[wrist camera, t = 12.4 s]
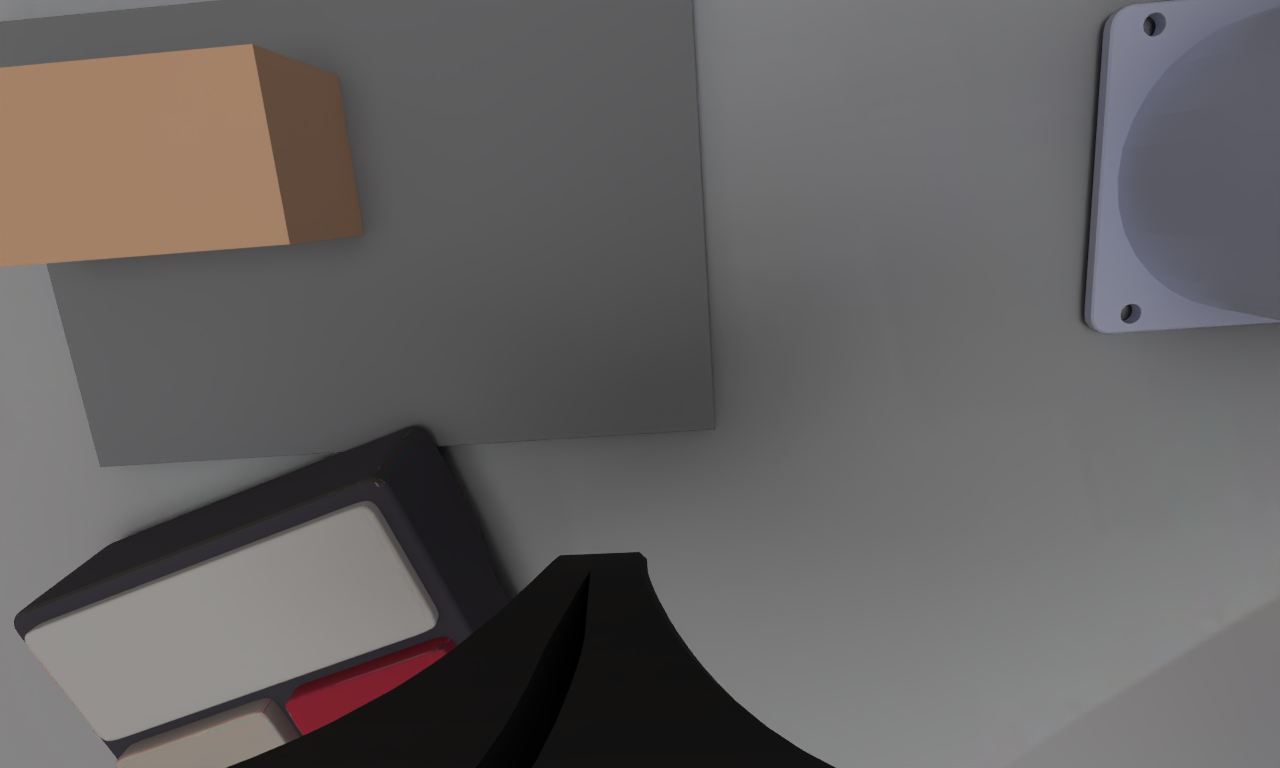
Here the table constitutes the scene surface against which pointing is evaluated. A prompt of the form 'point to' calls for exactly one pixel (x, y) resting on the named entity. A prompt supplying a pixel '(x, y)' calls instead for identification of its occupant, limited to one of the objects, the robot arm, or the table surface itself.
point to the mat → (421, 239)
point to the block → (171, 156)
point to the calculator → (269, 608)
